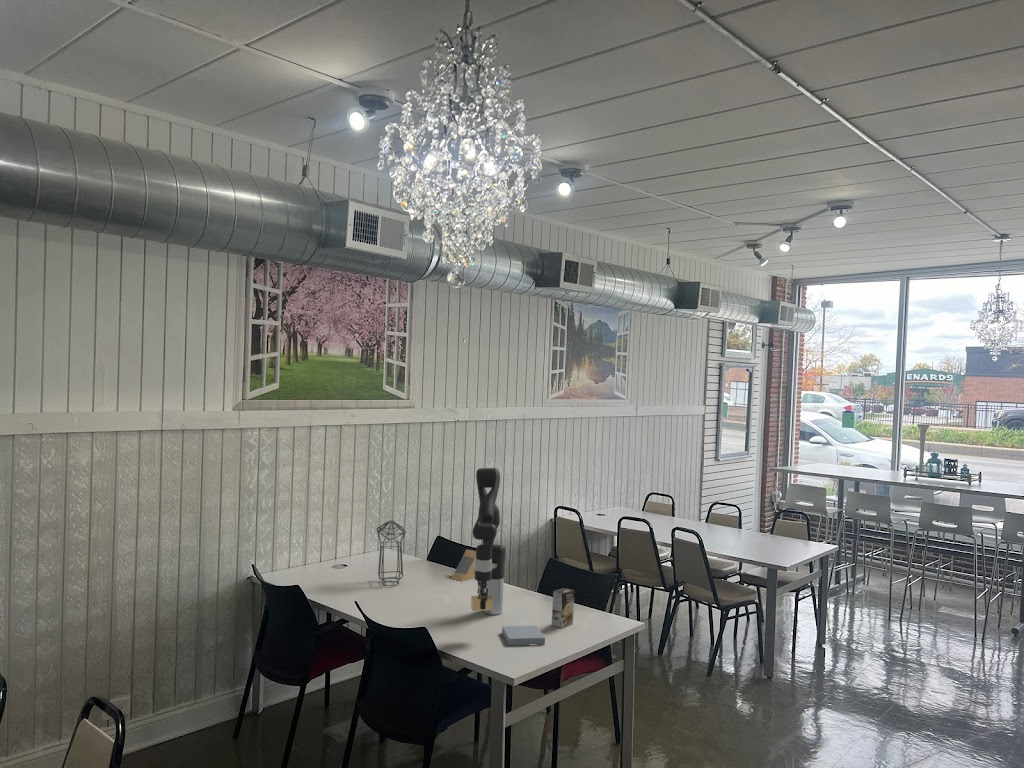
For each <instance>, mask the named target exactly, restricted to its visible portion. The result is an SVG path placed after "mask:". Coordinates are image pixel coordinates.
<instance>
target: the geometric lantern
mask: <svg viewBox="0 0 1024 768" xmlns="http://www.w3.org/2000/svg"><path fill="white" fill-rule="evenodd" d="M375 529H376V534H377V537H378V539H379V540H378V541H379V545H380V546H379V556H378V557H379V558H378V570H377V575H378V579H379V580H380V581H381V582H382V581H383V582H382V583H384V584H383V586H386V583H395V582H396V583H397V584H399V585H400V580H401V579H403V578H404V569H403V567H404V566H403V565H404V564H403V550H402V549H403V547H402V546H403V540H404V538H405V536H406V533H407V531H406V530H405V527H404V526H403V525H401V524H399V523H397V522H395V520H393V519H391V520H388V521H386V522H384V523H383V524H381V525H379V526H378V527H376V528H375ZM395 529H396V530H395ZM386 530H387V531H386ZM391 530H392V532H390V531H391ZM398 531H400V532H398ZM397 532H398V533H397ZM380 535H381V536H382V537H384V540H383V541H382V539H381V536H380ZM385 535H386V536H385ZM390 536H393V538H390ZM400 536H401V538H400V541H399V540H398V537H400ZM386 539H387V541H386ZM390 540H394V542H395V543H396V546H395V545H394V546H390V545H389V546H388V548H397V560H396V561H397V563H396V564H397V565H396V570H393V571H391V570H390V571H385V562H384V561H385V559H384V558H385V547H386V545H387V543H389V542H390ZM387 573H395V576H389V577H387V576H386V577H385V576H384V575H385V574H387ZM392 580H397V581H392Z"/></svg>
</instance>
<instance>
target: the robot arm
mask: <svg viewBox="0 0 1024 768" xmlns="http://www.w3.org/2000/svg"><path fill="white" fill-rule="evenodd" d="M475 476H476V487H477V491H478V501H479V505H478V506H479V507H478V514H477V515H478V516H477V520H476V521H475V524H474V526H473V529H472V536H473V538H474V539H475V540H479V541H481V540H482V544H478V545H476V549H475V551H476V561H475V578H474V580H475V581H477V596H480V598H481V599H480V600H481V604H480V609H485V608H486V601H487V596H492V598H493V610H483V613H484V614H487V615H491V616H496V615H497V614H498V615H501V614H502V613H503V603H504V585H505V584H504V582H505V581H504V580H505V578H504V577H505V568H506V566H505V565H506V557H507V550H506V546H505V545H502V544H496V543H495V544H494V542H495V539H496V537H497V533H498V527H499V525H500V524H501V519H500V518H501V517H500V508H499V506H498V505H497V504H496V501H497V498H498V493H499V488H500V484H501V472H500V469H498V468H497V467H484V468H483V467H482V468H478V469H477V471H476V473H475ZM486 488H489V489H490V490H489V491H488V492H487V490H486ZM493 564H495V565H496V567H493ZM483 596H485V598H483Z"/></svg>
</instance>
